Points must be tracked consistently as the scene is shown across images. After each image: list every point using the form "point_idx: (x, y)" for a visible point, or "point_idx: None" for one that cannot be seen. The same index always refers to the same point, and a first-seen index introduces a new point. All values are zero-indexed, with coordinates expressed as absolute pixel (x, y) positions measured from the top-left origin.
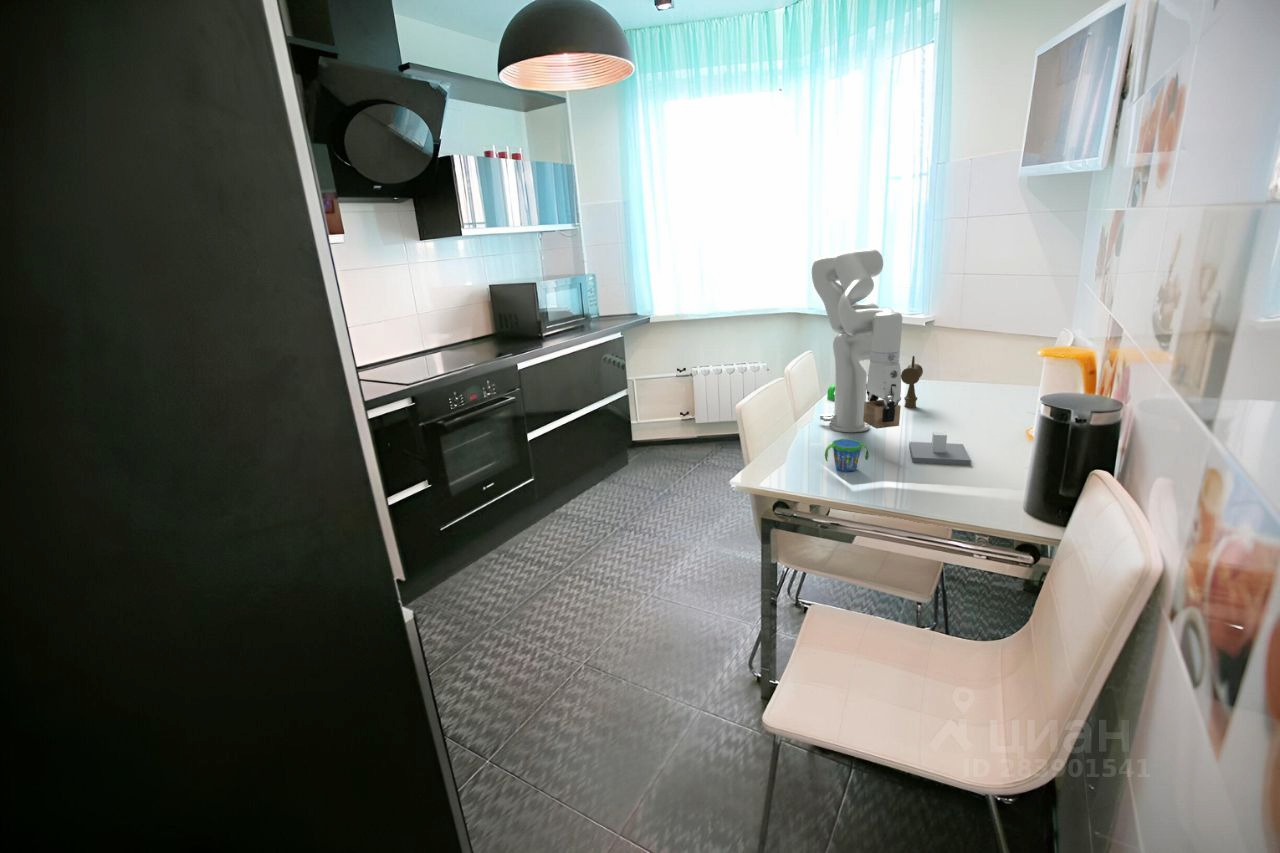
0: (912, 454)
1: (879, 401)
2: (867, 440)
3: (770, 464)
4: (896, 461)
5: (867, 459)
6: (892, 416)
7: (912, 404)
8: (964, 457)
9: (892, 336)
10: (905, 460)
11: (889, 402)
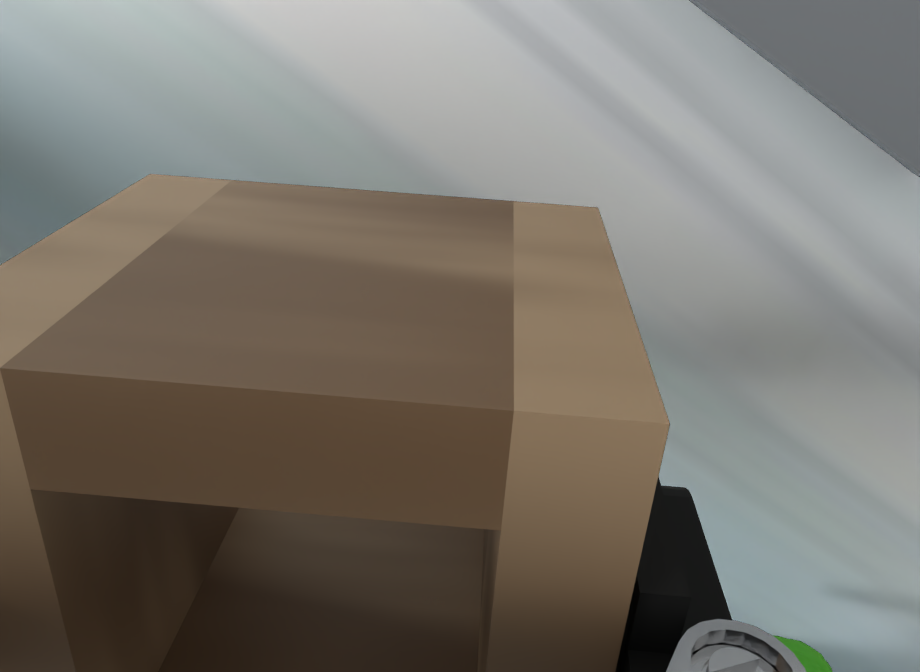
0: (865, 126)
1: (56, 618)
2: (80, 134)
3: None
4: (787, 289)
5: (818, 655)
6: (692, 529)
7: None
8: None
9: None
10: (818, 193)
11: (221, 481)
